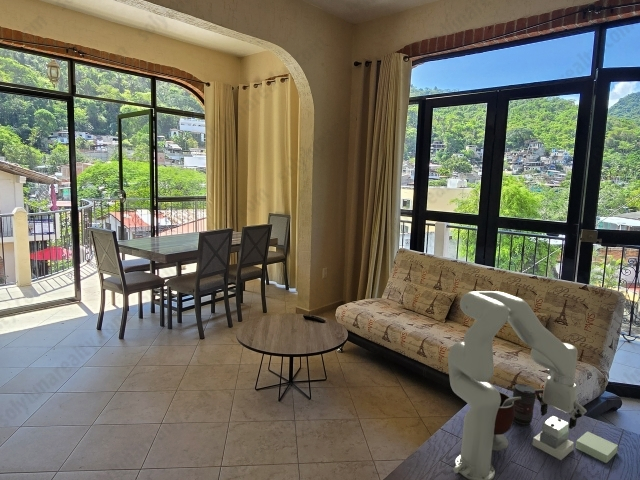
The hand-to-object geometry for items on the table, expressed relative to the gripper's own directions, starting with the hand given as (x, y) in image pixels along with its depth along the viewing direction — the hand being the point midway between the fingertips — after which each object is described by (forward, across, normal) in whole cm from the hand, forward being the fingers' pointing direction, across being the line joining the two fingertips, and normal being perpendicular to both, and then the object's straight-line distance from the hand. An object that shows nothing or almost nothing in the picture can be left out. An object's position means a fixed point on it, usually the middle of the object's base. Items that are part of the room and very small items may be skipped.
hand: (557, 420), depth 150 cm
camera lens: (+11, -15, +5) cm, 19 cm away
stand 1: (+11, 0, -1) cm, 11 cm away
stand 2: (+11, +10, +11) cm, 18 cm away
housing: (+8, 0, -1) cm, 8 cm away
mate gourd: (+10, -15, -16) cm, 24 cm away
